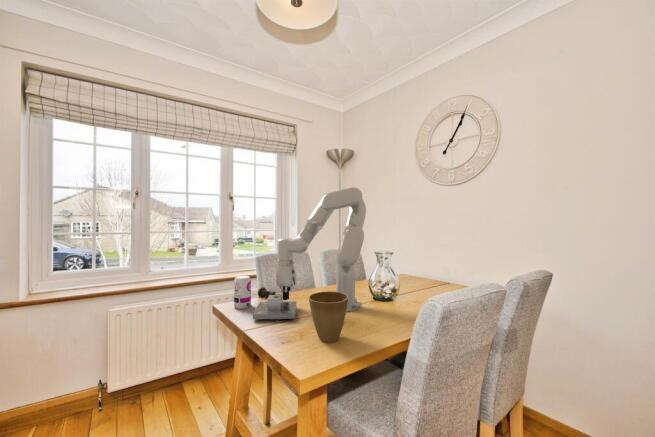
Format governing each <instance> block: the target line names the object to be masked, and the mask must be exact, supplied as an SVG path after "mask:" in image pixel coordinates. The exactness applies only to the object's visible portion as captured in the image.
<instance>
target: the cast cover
mask: <svg viewBox="0 0 655 437" xmlns="http://www.w3.org/2000/svg"><path fill="white" fill-rule="evenodd" d="M267 302H268V310H281V307H282V302H283V294H282V295H269V297H267Z"/></svg>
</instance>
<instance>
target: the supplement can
mask: <svg viewBox="0 0 655 437" xmlns="http://www.w3.org/2000/svg"><path fill="white" fill-rule="evenodd" d="M251 305H252V278H251V277H250V276H249V275H238V276H235V278H234V280H233V307H234V308H235V309H237V308H238V309H237V310H245V309H248V308H250V307H251Z"/></svg>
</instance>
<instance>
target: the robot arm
mask: <svg viewBox="0 0 655 437" xmlns="http://www.w3.org/2000/svg"><path fill="white" fill-rule="evenodd" d="M343 208H344V209H345V208H348V215H347V220H346V222H345V226H344V227H343V228H344V229H343V231H342V236H343V238H342V242H341V245H340V246H339V247H338V248H337V249H336V252H335V263H336V264H335V266H336V267H335V268H336V275H335V276H336V277H335V280H336V281H335V284H336V286H335V288H336V290H335V292H340V293H344V294H346V295H348V304H347V310H346V312H352V311H355V310H357V309H359V308H362V306H363V304H362V302H360V301H358V299H357V298H356V263H357V262H358V260H359V257H360V254H361V250H362V247H363V243H364V240H365V232H364V229H363V226H364V224H365V220H366V214H367V207H366V204H365V201H364V199H363V192H362V190H361V189H359V188H357V187H353V186H352V187H349V188H344V189H340V190H336V191H332V192H327V193H325V194H324V195H323V196H322V198H321V199H320V201H319V202H318V204H316V207H315V208H314V210H313V211H312V212H311V214H310V215H309V217H308V218H307V221H306V223H305V225H304V227H303V228H302V229H301V231H300V233H299V234H298V235H297V237H296V238H290V237H282V238H279V239H277V265H276V272H275V281H276V282H275V283H276V287H278V288H280V291H281V293H282V301H287V300H290V291H292V290H294V289H295V288H296V287H295V286H296V285H297V273H296V272H297V271H296V266H295V261H294V254H305V253H306V252H307V250H308V249H309V246H310V244H311V243H312V241H313V240H314V239H315V237H316V236H317V234H318V233H319V231H321V230H322V229H323V228H324V226H325V225H326V223H327V222H328V221H329V219H330V218H331V216H332V214H333V213H334V211H336V210H339V209H343Z"/></svg>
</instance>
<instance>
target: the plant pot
mask: <svg viewBox="0 0 655 437" xmlns="http://www.w3.org/2000/svg"><path fill="white" fill-rule="evenodd" d="M308 301H309V309H310V313H311V317H312V321H313V324H314V325H313V326H314V328H315V331H316V334H317V337H318V340H320V342H323V343H335V342H337V341H338V340H339V339H340V336H341V333H342V330H343V326H344V324H345V323H344V322H345V320H346V319H345V318H346V314H347V311H346V310H347V304H348V295H346V294H344V293H340V292H336V291H332V290H331V291H330V290H329V291H320V292H319V291H318V292H315V293H312V294H310V295H309V296H308Z"/></svg>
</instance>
